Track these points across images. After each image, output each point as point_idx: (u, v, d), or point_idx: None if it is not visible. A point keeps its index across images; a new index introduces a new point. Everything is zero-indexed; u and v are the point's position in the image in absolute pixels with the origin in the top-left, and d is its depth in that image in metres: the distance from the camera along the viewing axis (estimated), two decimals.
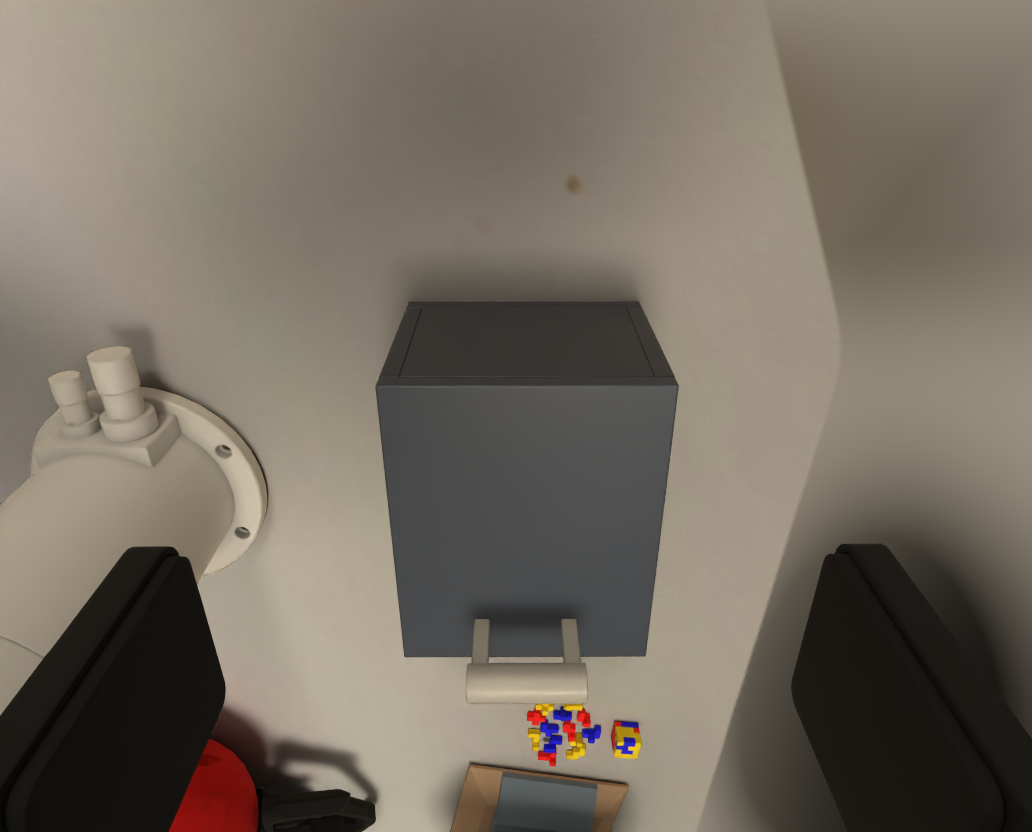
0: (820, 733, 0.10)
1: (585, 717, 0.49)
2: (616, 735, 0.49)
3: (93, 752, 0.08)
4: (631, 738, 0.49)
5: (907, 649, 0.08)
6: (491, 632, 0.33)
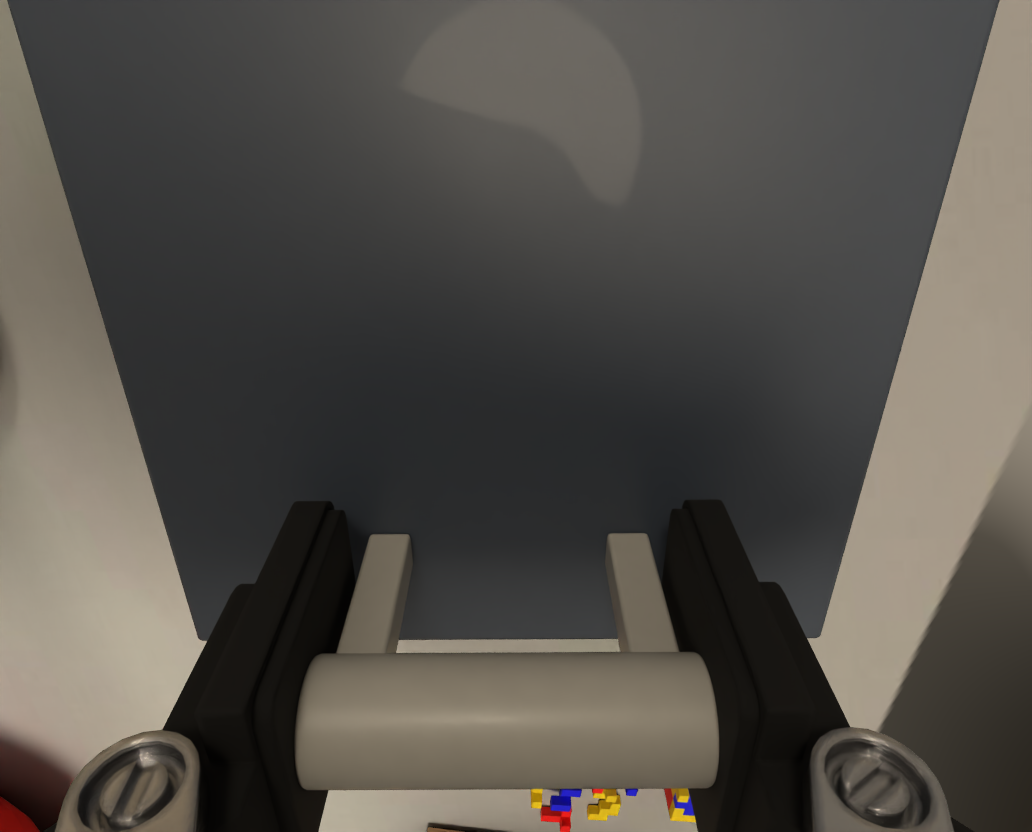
0: None
1: None
2: None
3: (301, 672, 0.08)
4: None
5: (713, 585, 0.09)
6: (417, 573, 0.12)
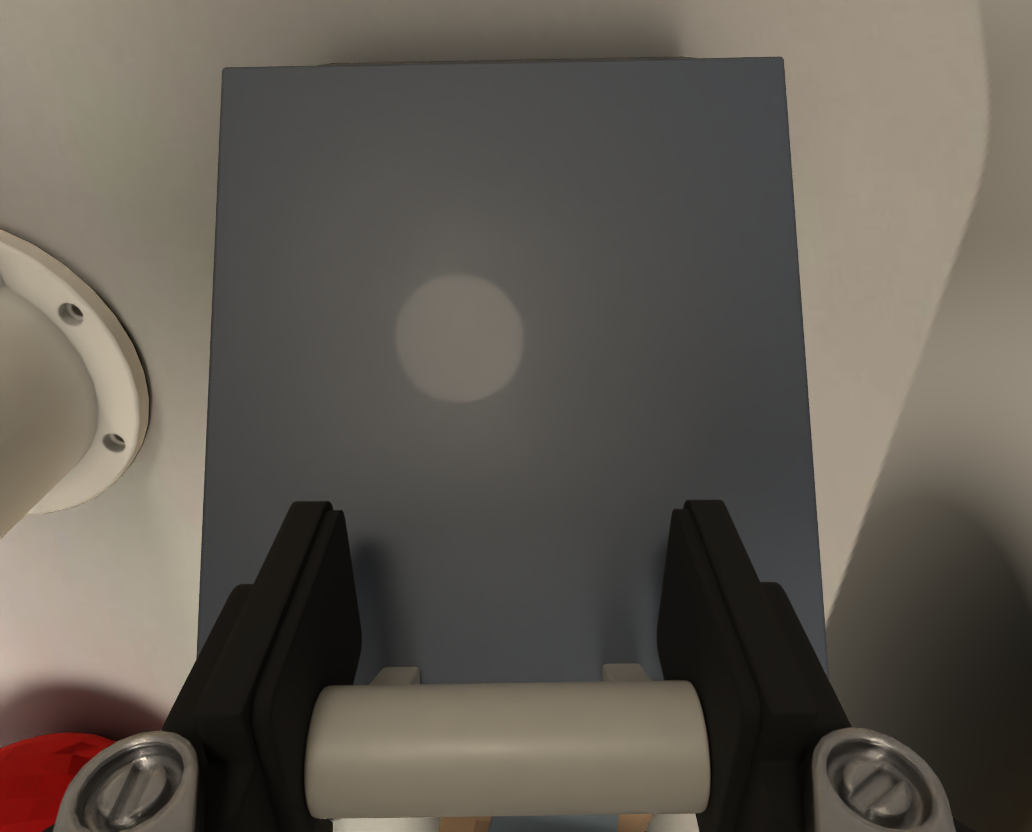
0: (670, 674, 0.11)
1: None
2: None
3: (300, 672, 0.08)
4: None
5: (714, 586, 0.09)
6: None
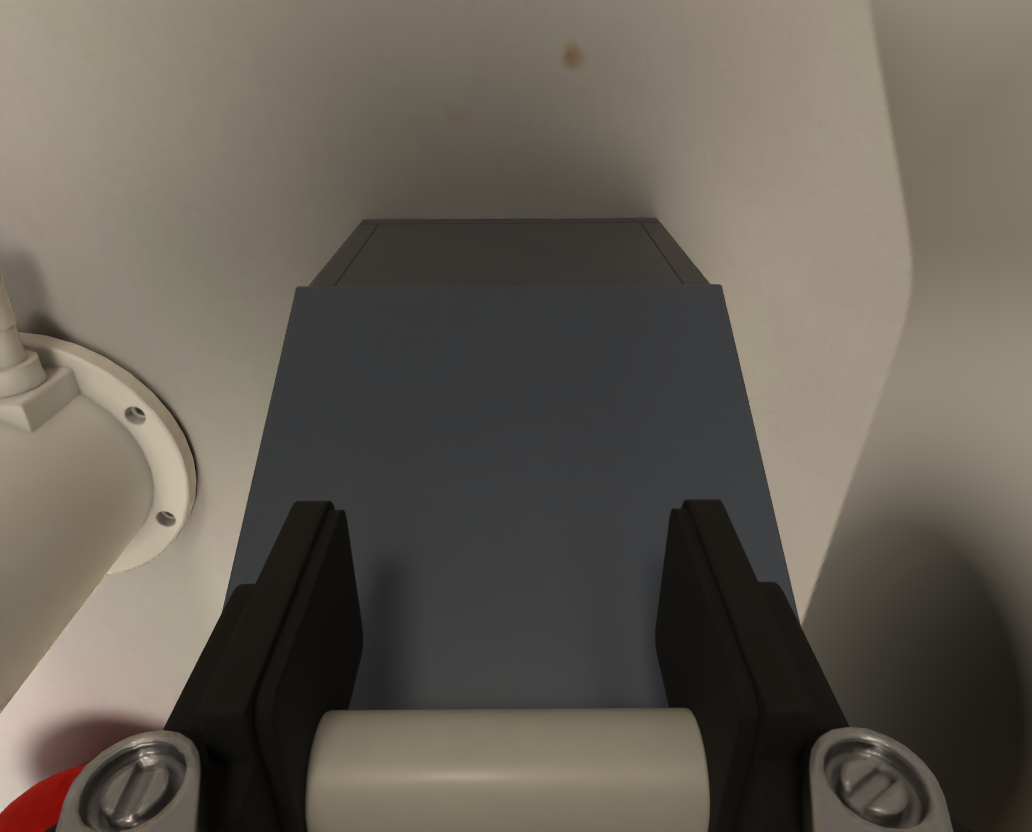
0: (669, 673, 0.11)
1: None
2: None
3: (301, 672, 0.08)
4: None
5: (713, 585, 0.09)
6: None
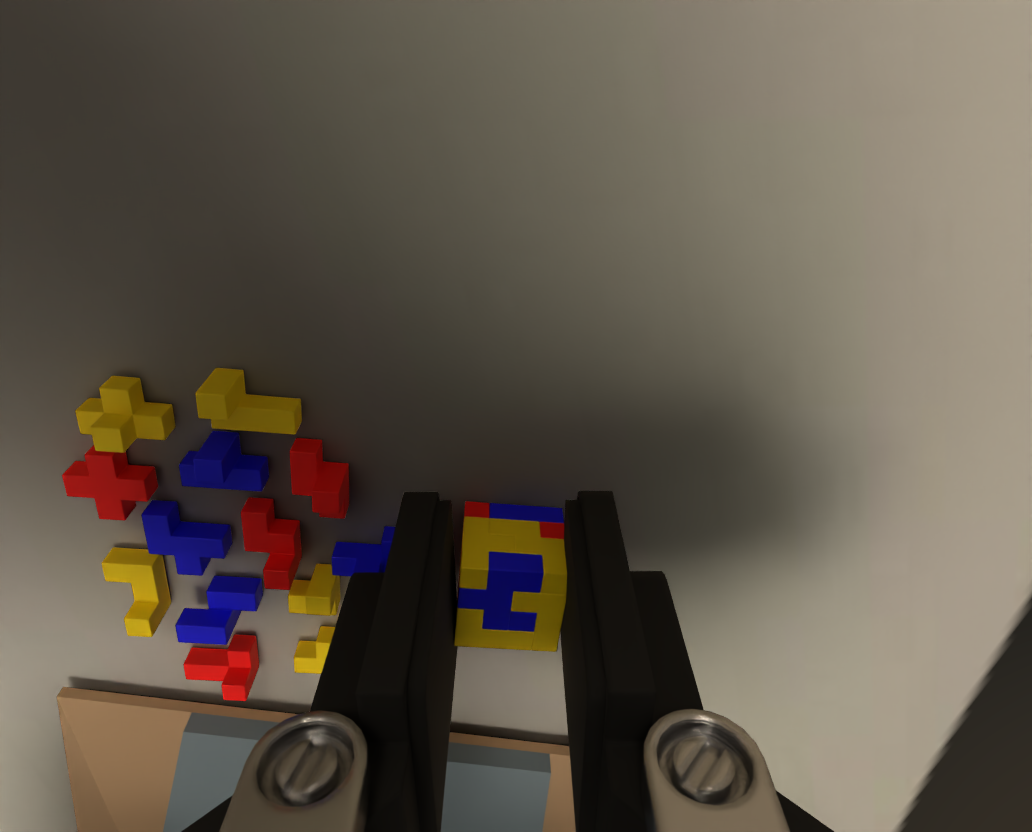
0: (565, 662, 0.11)
1: (322, 473, 0.11)
2: None
3: (435, 656, 0.09)
4: (525, 556, 0.11)
5: (586, 573, 0.09)
6: None
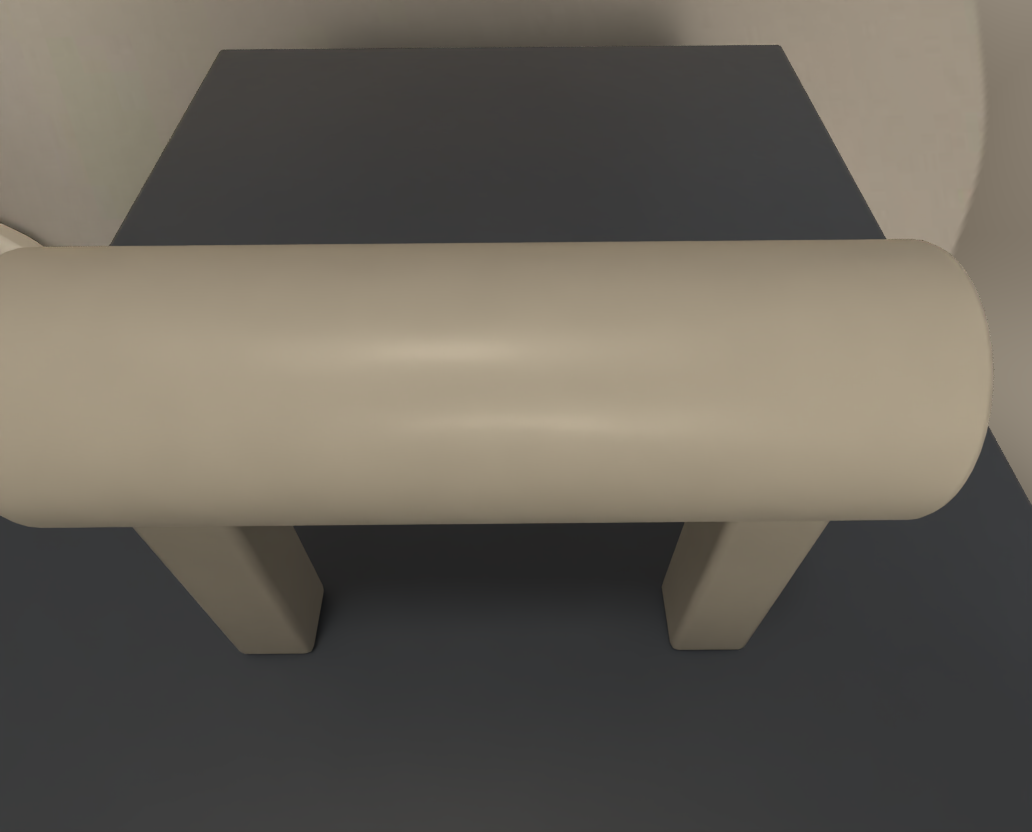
0: None
1: None
2: None
3: None
4: None
5: None
6: (316, 677, 0.06)
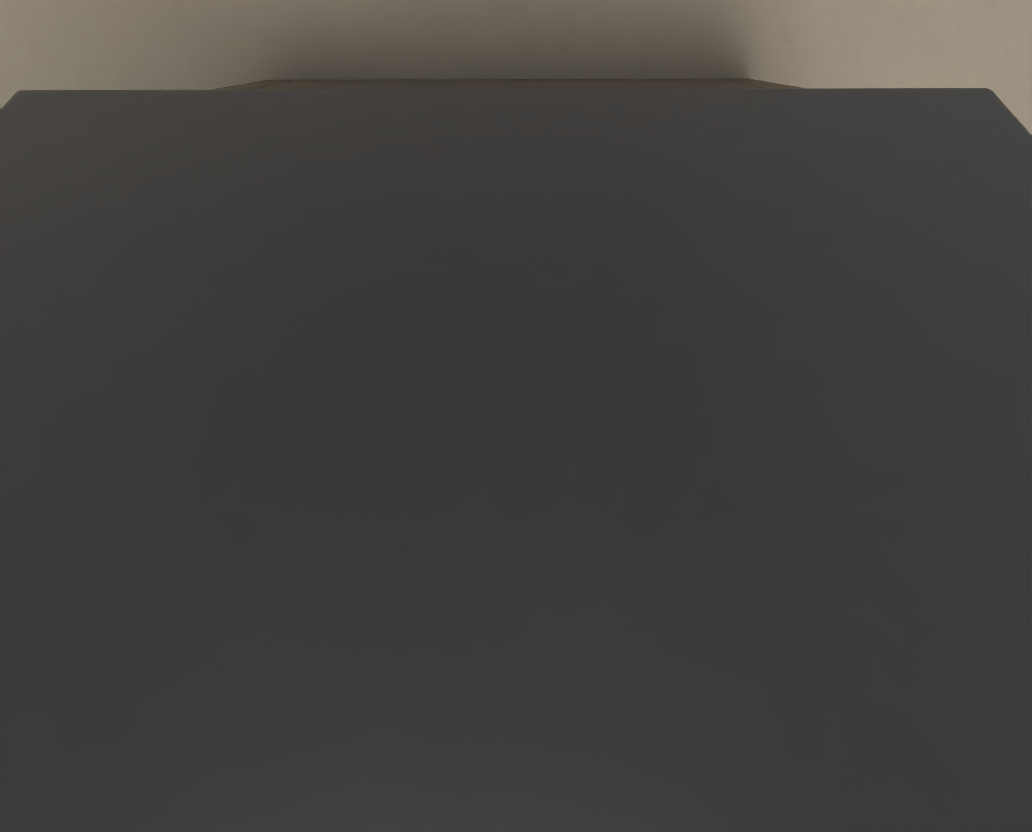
0: None
1: None
2: None
3: None
4: None
5: None
6: None
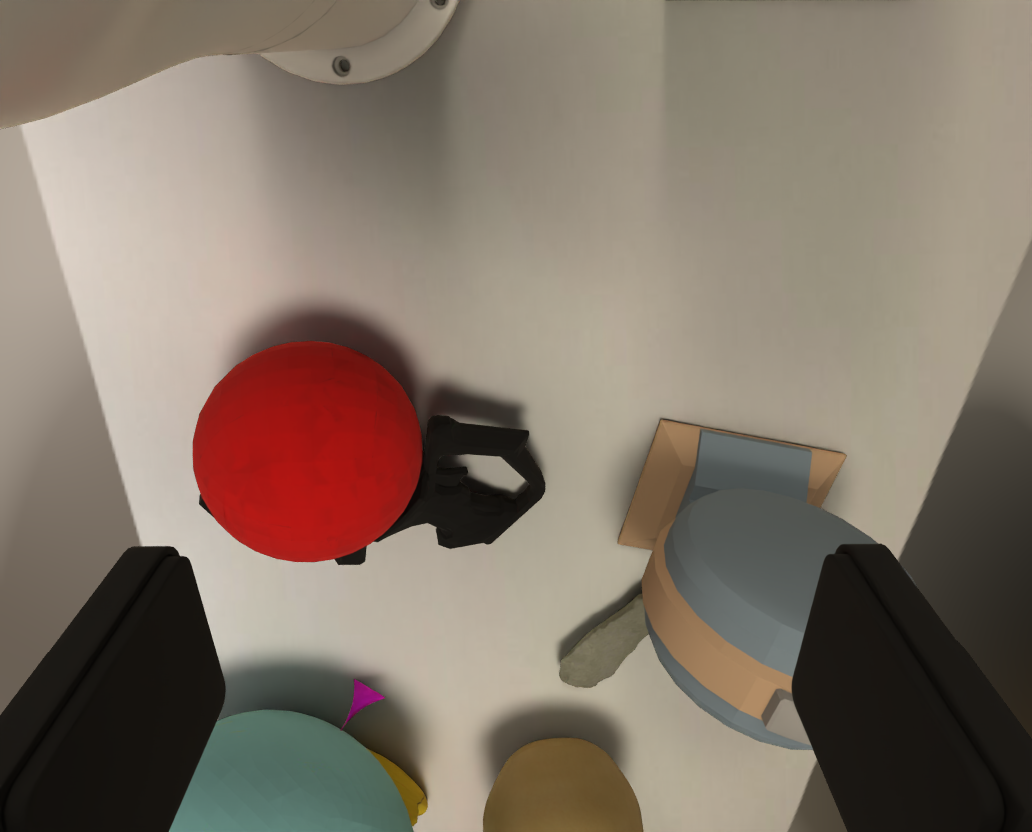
0: (820, 732, 0.10)
1: None
2: None
3: (93, 751, 0.08)
4: None
5: (907, 649, 0.08)
6: None
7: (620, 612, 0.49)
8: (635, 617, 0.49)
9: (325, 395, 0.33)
